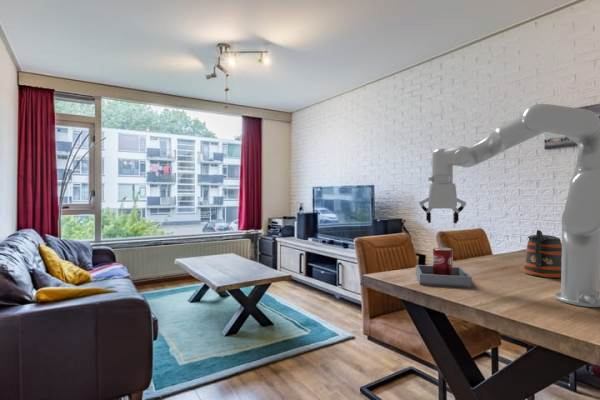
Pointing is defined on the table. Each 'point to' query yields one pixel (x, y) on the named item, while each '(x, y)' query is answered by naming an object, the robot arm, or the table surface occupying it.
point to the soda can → (442, 261)
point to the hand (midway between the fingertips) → (442, 223)
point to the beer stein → (543, 256)
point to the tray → (443, 277)
